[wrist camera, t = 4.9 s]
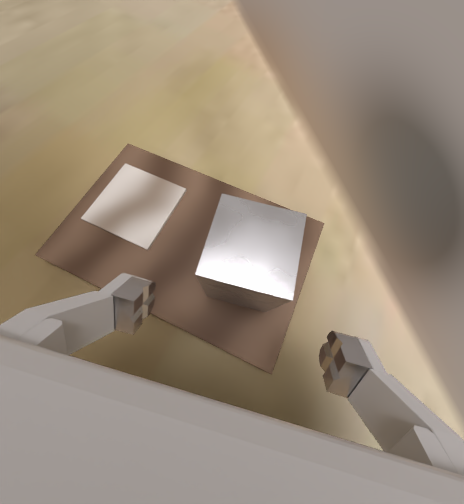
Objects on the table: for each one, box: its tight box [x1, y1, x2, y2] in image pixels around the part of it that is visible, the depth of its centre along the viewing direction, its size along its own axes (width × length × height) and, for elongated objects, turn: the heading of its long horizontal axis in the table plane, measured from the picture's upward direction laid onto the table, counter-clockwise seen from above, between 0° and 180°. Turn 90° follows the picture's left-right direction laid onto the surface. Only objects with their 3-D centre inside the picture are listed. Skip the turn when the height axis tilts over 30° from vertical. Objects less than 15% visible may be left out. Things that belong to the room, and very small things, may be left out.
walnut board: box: [35, 144, 324, 374], centre depth 17 cm, size 22×14×8 cm, turn 65°
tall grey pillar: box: [195, 194, 307, 312], centre depth 15 cm, size 5×5×8 cm
